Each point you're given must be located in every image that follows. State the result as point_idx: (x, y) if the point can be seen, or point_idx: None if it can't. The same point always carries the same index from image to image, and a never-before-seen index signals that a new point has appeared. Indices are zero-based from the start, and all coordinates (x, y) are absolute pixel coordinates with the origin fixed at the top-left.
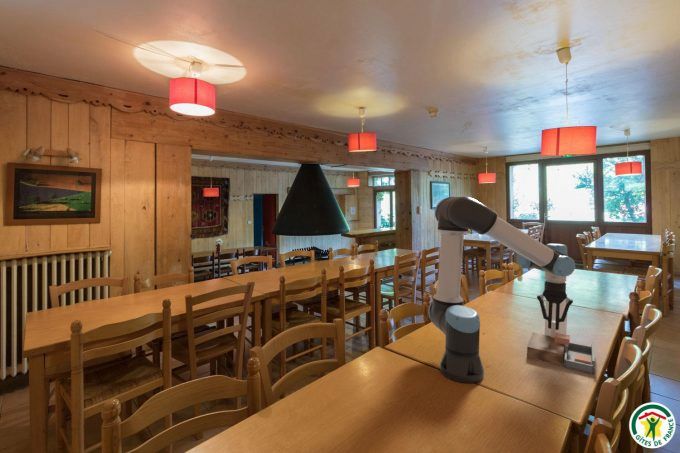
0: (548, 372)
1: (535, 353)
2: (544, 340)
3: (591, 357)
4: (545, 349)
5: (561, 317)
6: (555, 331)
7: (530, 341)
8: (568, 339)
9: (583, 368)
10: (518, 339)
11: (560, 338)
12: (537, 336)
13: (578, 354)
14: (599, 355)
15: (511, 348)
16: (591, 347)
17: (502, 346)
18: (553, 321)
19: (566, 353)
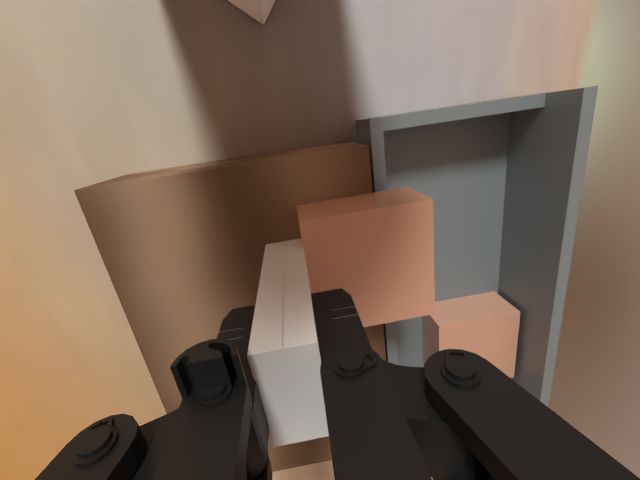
0: None
1: None
2: None
3: (514, 259)
4: (295, 451)
5: (453, 429)
6: (307, 272)
7: (171, 403)
8: (426, 313)
9: None
10: (20, 188)
11: (362, 321)
12: (160, 267)
13: (457, 325)
14: (551, 91)
15: (91, 373)
16: (553, 184)
17: (36, 383)
18: (292, 406)
19: (394, 353)
